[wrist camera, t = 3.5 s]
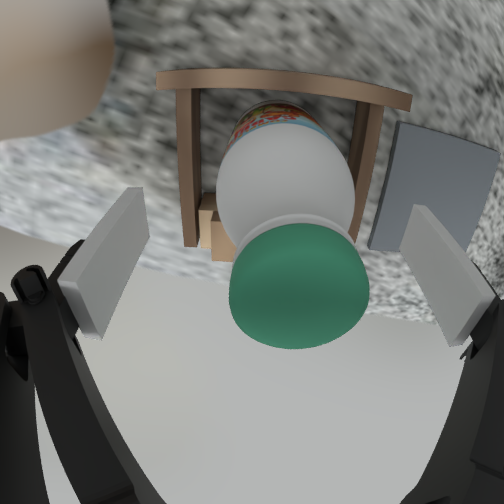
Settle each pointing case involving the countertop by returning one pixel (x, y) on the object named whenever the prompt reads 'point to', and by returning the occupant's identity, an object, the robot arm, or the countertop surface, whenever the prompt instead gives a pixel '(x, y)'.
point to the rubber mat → (433, 184)
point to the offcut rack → (191, 80)
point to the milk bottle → (290, 229)
